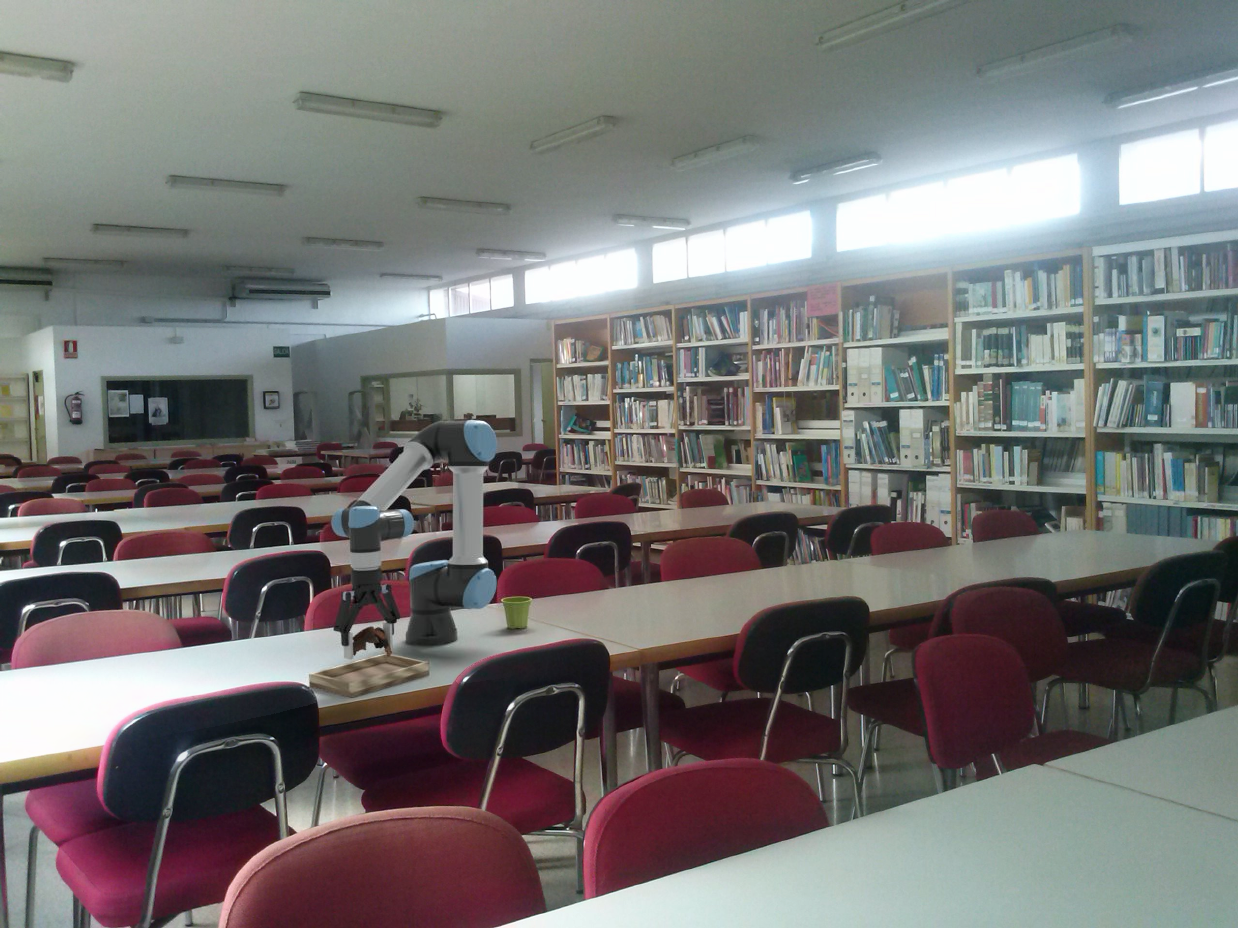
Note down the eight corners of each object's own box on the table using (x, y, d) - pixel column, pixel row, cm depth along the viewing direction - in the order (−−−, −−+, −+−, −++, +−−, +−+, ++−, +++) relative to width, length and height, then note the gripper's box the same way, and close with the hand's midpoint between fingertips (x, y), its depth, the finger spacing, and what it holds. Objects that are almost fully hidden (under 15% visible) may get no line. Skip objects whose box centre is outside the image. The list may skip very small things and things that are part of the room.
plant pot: (516, 622, 312) (515, 595, 311) (538, 625, 306) (538, 598, 306) (495, 628, 304) (495, 600, 304) (518, 631, 299) (517, 603, 298)
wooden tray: (386, 664, 263) (386, 653, 263) (429, 674, 253) (428, 662, 253) (309, 686, 244) (308, 673, 244) (352, 697, 234) (351, 684, 234)
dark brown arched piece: (389, 661, 242) (371, 635, 240) (358, 677, 244) (339, 651, 242) (401, 638, 254) (384, 612, 252) (371, 653, 256) (354, 628, 253)
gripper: (394, 560, 259) (396, 641, 260) (316, 573, 240) (319, 661, 241) (412, 562, 254) (415, 645, 255) (335, 576, 235) (338, 665, 236)
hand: (368, 653), depth 248 cm, fingers closed on dark brown arched piece, 11 cm apart
